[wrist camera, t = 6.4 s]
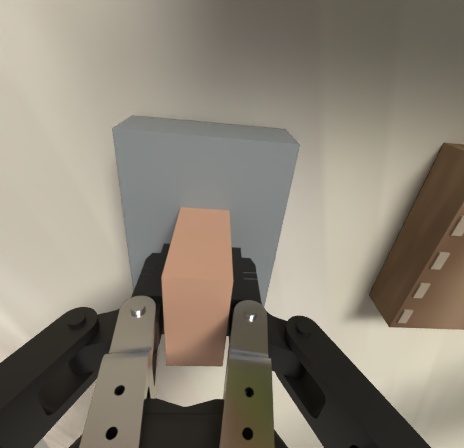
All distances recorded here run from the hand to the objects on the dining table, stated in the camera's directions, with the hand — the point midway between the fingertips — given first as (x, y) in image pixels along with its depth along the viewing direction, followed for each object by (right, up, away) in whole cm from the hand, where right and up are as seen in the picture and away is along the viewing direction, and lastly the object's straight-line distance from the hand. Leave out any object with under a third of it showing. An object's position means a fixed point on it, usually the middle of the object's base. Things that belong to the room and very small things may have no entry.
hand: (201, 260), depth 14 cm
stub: (0, +2, +4) cm, 4 cm away
